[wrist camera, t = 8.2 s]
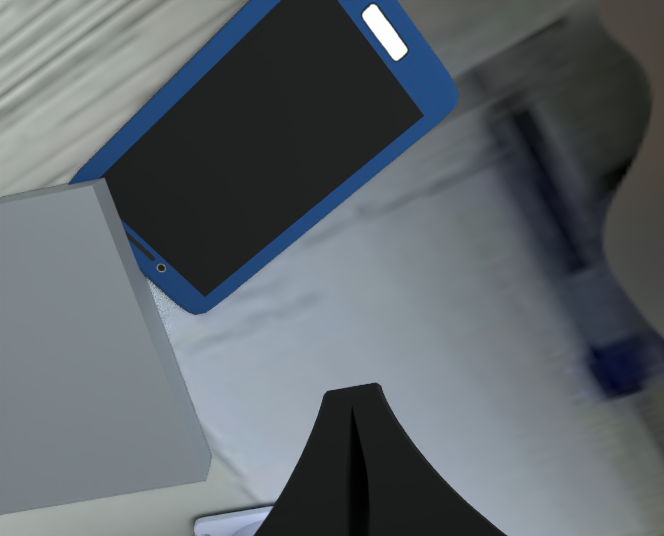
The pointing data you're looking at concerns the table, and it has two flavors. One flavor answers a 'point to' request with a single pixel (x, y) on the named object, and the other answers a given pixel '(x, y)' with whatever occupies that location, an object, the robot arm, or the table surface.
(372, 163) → the cell phone
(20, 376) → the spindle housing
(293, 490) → the robot arm
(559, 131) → the table surface
